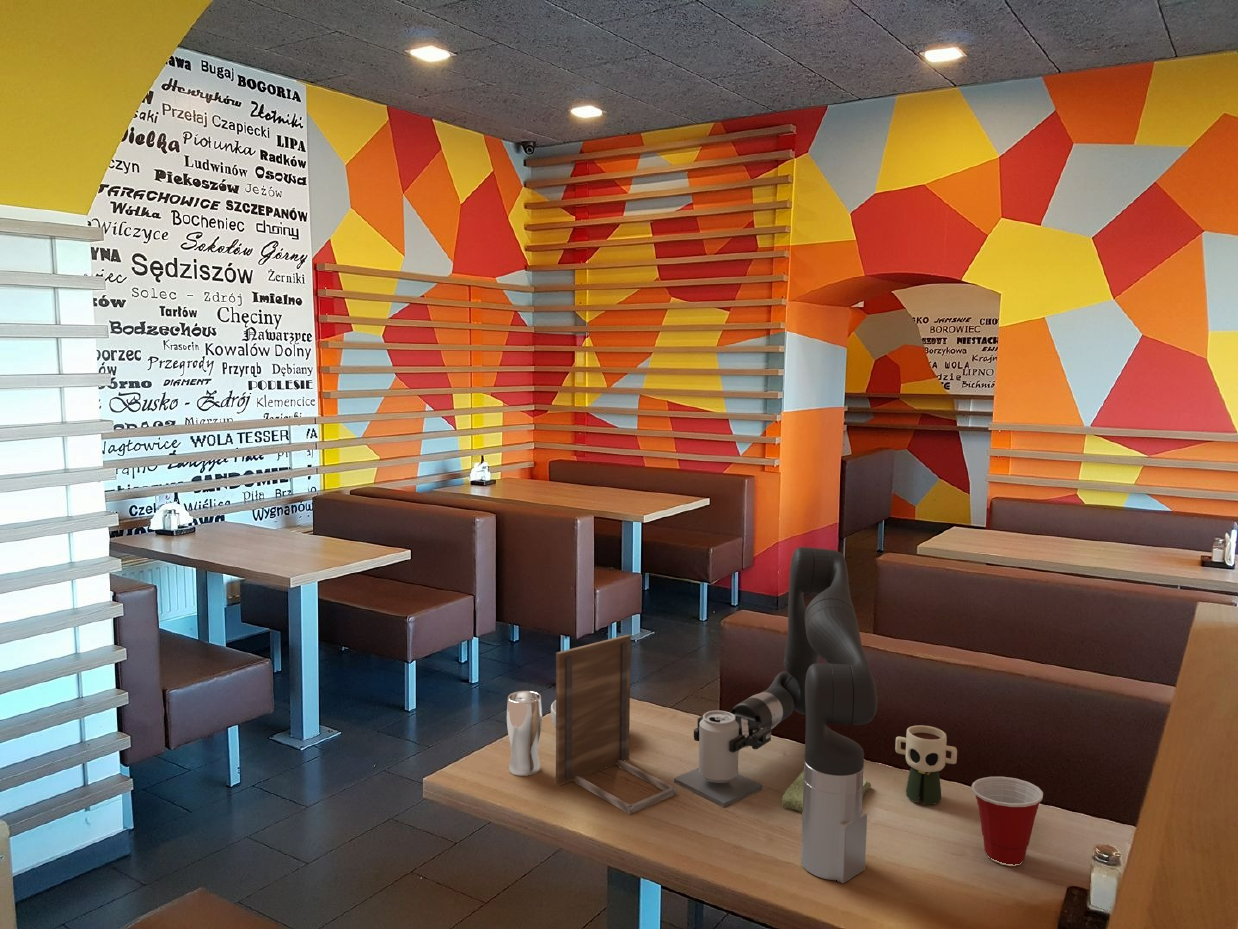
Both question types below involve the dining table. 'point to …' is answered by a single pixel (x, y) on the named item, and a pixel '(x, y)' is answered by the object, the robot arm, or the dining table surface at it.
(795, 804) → the washcloth
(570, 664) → the wooden stand
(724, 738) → the can
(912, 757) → the character mug
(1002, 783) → the plastic cup
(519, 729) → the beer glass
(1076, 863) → the dining table surface
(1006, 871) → the dining table surface
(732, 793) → the slate board
